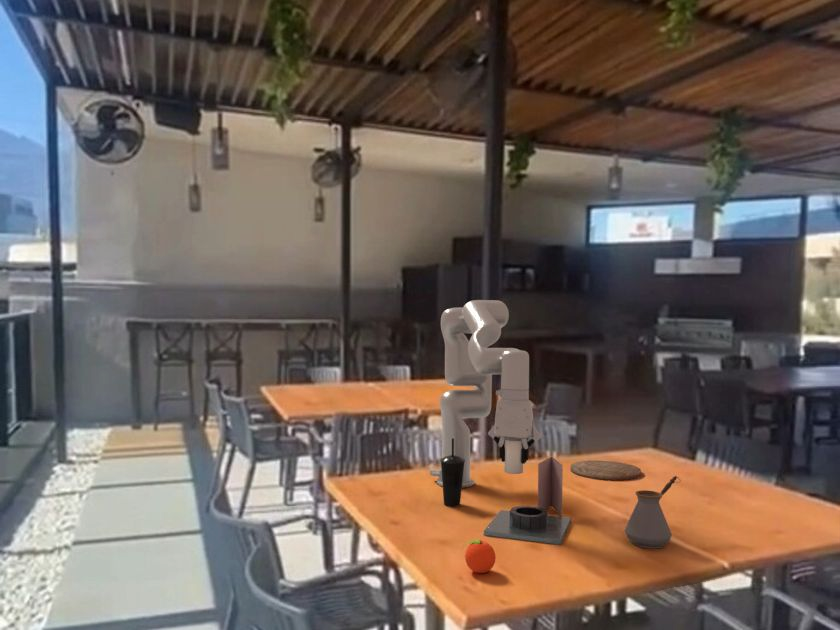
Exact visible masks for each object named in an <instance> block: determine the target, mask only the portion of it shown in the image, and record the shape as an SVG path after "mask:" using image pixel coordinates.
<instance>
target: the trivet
mask: <svg viewBox="0 0 840 630" xmlns="http://www.w3.org/2000/svg"><path fill="white" fill-rule="evenodd" d="M570 472H571V473H572V474H573V475H576V476H578V477H583V478H585V479H586V478H587V479H591V480H597V481H608V480H611V482H612V481H613V482H615V481H616V482H618V481H619V482H622V481H624V480H625V481H632V480H631V479H633V480H636V479H635V478H637V479H639V478H641V476H642V470H641V468H639V467H638V466H636V465H633V464H629V463H626V462H619V461H611V460H598V459H596V460H581V461H576V462H573V463H571V464H570ZM638 477H639V478H638Z"/></svg>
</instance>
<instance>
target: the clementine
mask: <svg viewBox="0 0 840 630" xmlns="http://www.w3.org/2000/svg"><path fill="white" fill-rule="evenodd" d="M467 544H469V545H468V546H467V547H466V550H465V555H464V559H465V563H466V566H467V567H468V568H469V569H470V571H472V572H474V573H476V574H485V573H487V572H489V571H490V570H492V569H493V567H494V566H495V563H496V559H497V557H496V556H497V555H496V552H495V550H494V548H493V545H491V544H490V543H488V542H487V541H483V540H471V541H468V542H466V543H465V545H467ZM463 549H464V546H462V548H461V551H462V550H463Z"/></svg>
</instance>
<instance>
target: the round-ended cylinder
mask: <svg viewBox="0 0 840 630" xmlns="http://www.w3.org/2000/svg"><path fill="white" fill-rule="evenodd" d="M522 449H523V443H522V439H521V438H514V437H505V461H504V473H506V474H511V475H520V474H523V473H524V464H522Z"/></svg>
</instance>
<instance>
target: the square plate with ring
mask: <svg viewBox="0 0 840 630" xmlns="http://www.w3.org/2000/svg"><path fill="white" fill-rule="evenodd" d="M571 522H572V518H571V517H567V516H566V517H565V516H562V517H561V516H560V515H558V516H557V515H549V511H548V510H547V509H546V510H545V509H543V508H539V507H538V506H532V505H531V506H530V505H518V506H514V507H513V506H512V507H511V508H510V509H509V510H505V509H500V511H499V512H498V513H497V514H496V515H495V516H494V518H493V519H492V520H491V521H490V522H489V524H488V525H487V526H486V527H485V528H484V530H483V536H486V537H494V538H501V539H502V538H503V539H510V540H519V541H526V542H527V541H528V542H533V543H534V542H535V543H543V544H550V545H559V546H560V545H561V544H562V542H563V540H564V538H565V536H566V534H567V531H568V530H569V527H570V525H571Z"/></svg>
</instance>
